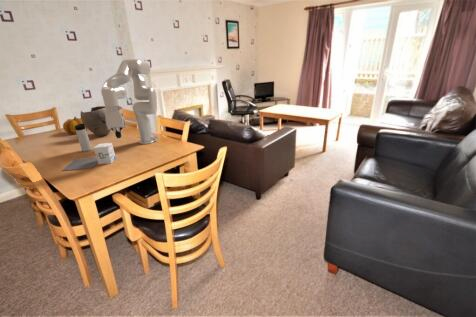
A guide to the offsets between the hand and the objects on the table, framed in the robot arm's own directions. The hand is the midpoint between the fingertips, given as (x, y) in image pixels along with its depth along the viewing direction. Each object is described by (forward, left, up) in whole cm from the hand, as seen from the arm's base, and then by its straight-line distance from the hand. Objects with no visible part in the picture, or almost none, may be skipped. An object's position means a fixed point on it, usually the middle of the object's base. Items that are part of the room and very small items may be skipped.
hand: (119, 137), depth 154 cm
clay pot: (+35, -68, -16) cm, 78 cm away
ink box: (+11, -1, -16) cm, 19 cm away
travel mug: (+33, -28, -16) cm, 46 cm away
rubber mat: (+25, -1, -16) cm, 30 cm away
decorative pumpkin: (+62, -87, -16) cm, 108 cm away
